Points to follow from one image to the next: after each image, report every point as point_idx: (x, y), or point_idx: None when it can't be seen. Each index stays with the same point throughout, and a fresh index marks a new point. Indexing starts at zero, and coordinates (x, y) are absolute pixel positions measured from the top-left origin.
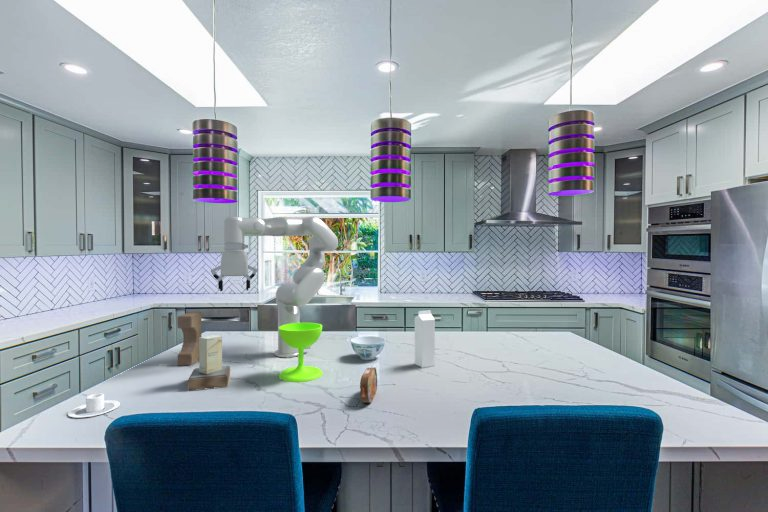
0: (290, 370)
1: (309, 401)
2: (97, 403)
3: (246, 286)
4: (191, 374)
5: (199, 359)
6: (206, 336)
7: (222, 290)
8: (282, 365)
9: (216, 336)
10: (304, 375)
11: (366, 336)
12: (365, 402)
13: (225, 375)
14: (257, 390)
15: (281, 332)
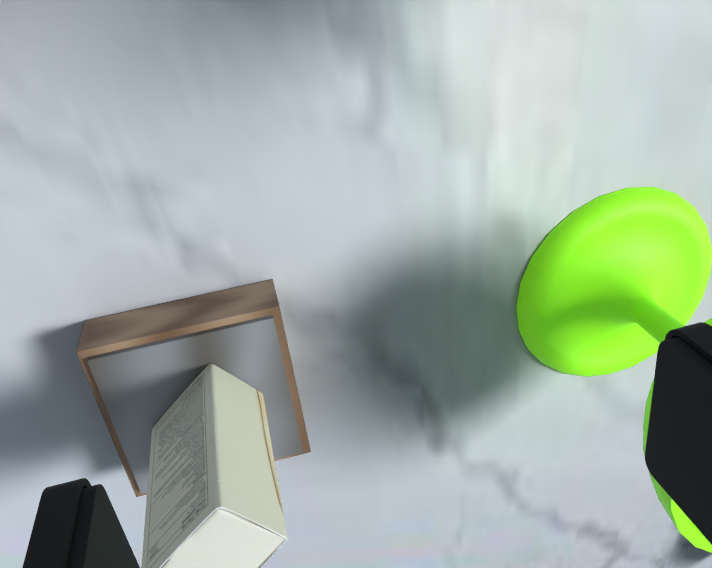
0: (580, 269)
1: (593, 525)
2: None
3: (704, 528)
4: (112, 432)
5: (149, 479)
6: (175, 557)
7: (127, 544)
8: (546, 116)
9: (252, 554)
10: (627, 341)
11: None
12: None
13: (301, 450)
14: (432, 452)
15: (666, 507)
